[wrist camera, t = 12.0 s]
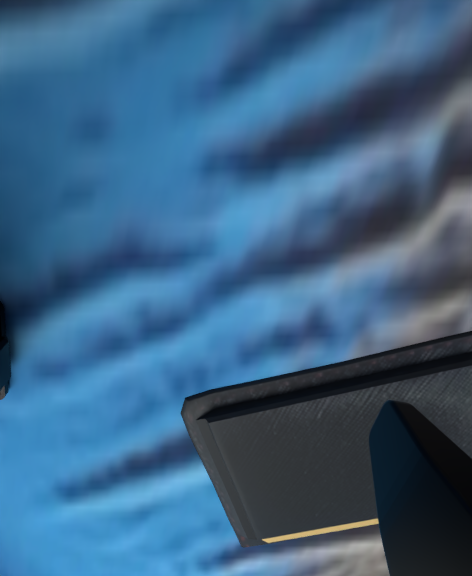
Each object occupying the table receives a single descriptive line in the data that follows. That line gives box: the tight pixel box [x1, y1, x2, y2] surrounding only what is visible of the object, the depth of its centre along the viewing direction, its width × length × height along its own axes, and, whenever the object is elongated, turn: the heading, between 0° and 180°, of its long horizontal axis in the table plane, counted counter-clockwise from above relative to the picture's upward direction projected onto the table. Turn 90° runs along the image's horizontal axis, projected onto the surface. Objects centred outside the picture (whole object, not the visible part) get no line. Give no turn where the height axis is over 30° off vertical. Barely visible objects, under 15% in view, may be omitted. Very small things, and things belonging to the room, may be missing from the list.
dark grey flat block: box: [181, 331, 472, 547], centre depth 26 cm, size 20×2×15 cm
